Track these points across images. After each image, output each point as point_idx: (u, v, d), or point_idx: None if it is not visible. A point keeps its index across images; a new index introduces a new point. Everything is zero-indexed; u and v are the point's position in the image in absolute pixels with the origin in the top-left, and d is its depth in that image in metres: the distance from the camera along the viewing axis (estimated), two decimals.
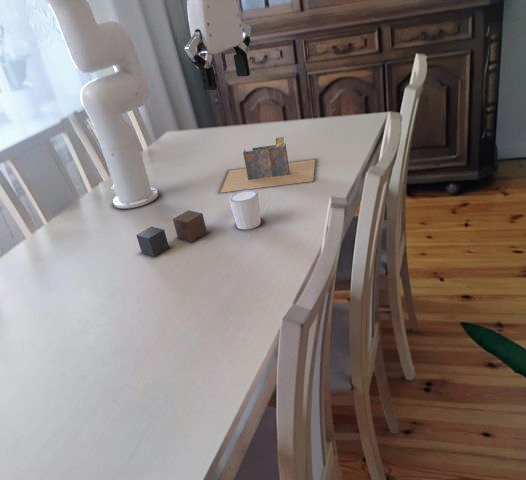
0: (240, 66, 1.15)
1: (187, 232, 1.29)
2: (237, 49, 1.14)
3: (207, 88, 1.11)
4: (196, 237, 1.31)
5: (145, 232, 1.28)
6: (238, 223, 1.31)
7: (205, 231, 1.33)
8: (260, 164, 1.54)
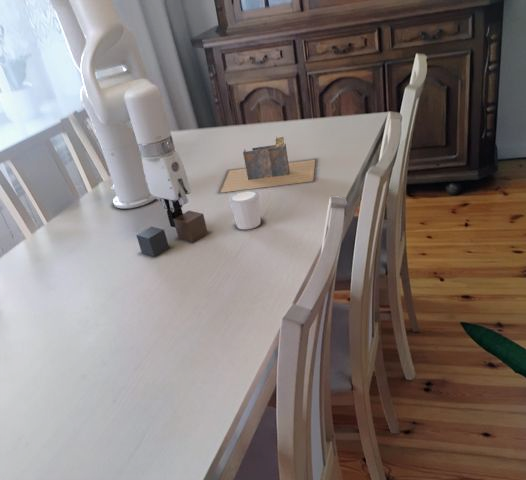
0: None
1: (188, 232, 1.29)
2: None
3: None
4: (197, 238, 1.31)
5: (145, 232, 1.28)
6: (238, 223, 1.31)
7: (205, 231, 1.32)
8: (260, 164, 1.54)
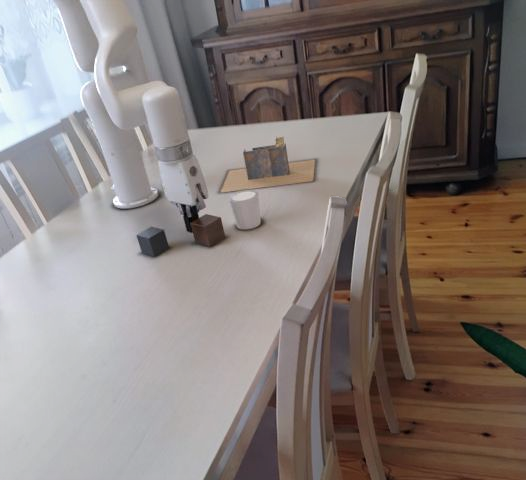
0: None
1: (206, 236, 1.26)
2: None
3: None
4: (215, 242, 1.28)
5: (145, 232, 1.28)
6: (238, 223, 1.31)
7: (223, 235, 1.29)
8: (260, 164, 1.54)
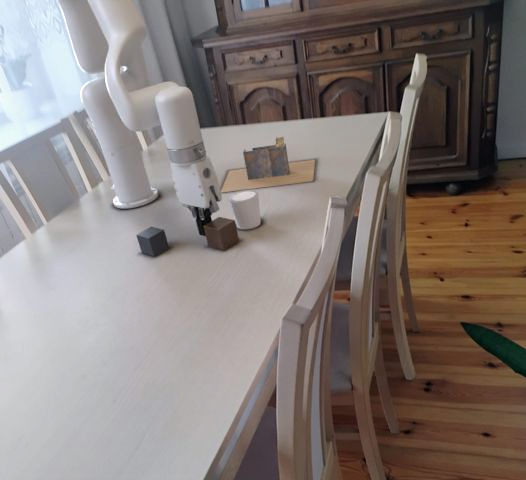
0: None
1: (219, 240, 1.23)
2: None
3: None
4: (228, 245, 1.25)
5: (145, 232, 1.28)
6: (238, 223, 1.31)
7: (237, 239, 1.26)
8: (260, 164, 1.54)
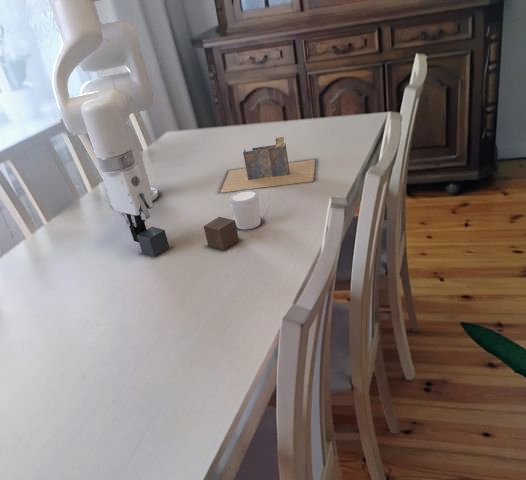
0: None
1: (219, 240, 1.23)
2: None
3: None
4: (228, 245, 1.25)
5: (145, 232, 1.28)
6: (238, 223, 1.31)
7: (237, 239, 1.26)
8: (260, 164, 1.54)
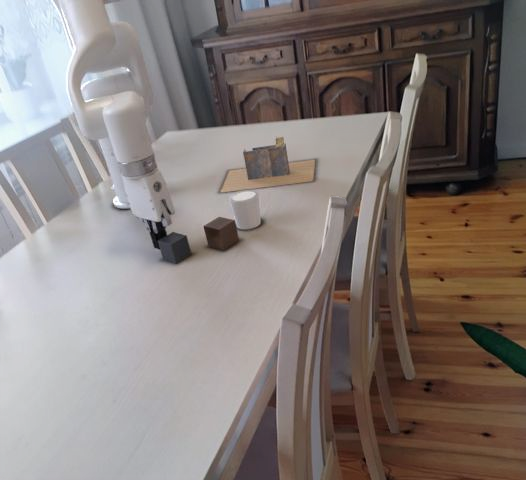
0: None
1: (219, 240, 1.23)
2: None
3: None
4: (228, 245, 1.25)
5: (167, 238, 1.23)
6: (238, 223, 1.31)
7: (237, 239, 1.26)
8: (260, 164, 1.54)
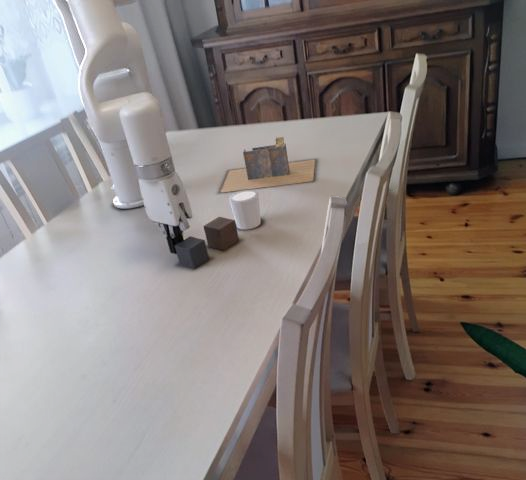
0: None
1: (219, 240, 1.23)
2: None
3: None
4: (228, 245, 1.25)
5: (184, 242, 1.20)
6: (238, 223, 1.31)
7: (237, 239, 1.26)
8: (260, 164, 1.54)
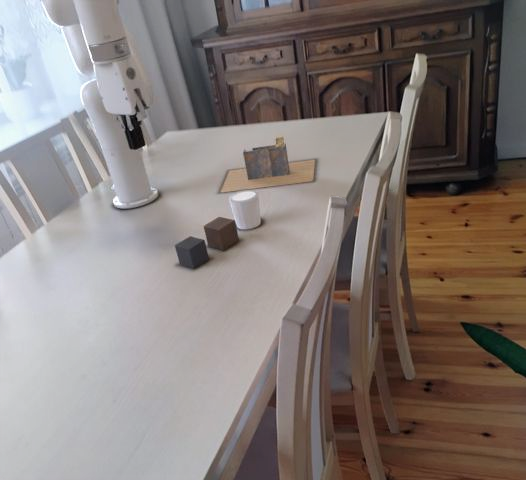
0: None
1: (219, 240, 1.23)
2: None
3: None
4: (228, 245, 1.25)
5: (184, 242, 1.20)
6: (238, 223, 1.31)
7: (237, 239, 1.26)
8: (260, 164, 1.54)
